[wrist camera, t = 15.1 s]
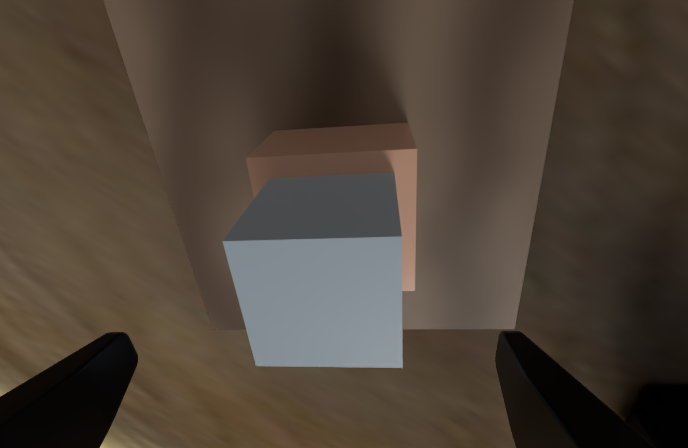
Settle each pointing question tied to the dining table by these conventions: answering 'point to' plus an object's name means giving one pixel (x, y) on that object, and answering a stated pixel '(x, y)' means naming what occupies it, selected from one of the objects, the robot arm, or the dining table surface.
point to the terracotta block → (347, 166)
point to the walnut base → (358, 123)
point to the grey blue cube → (321, 271)
